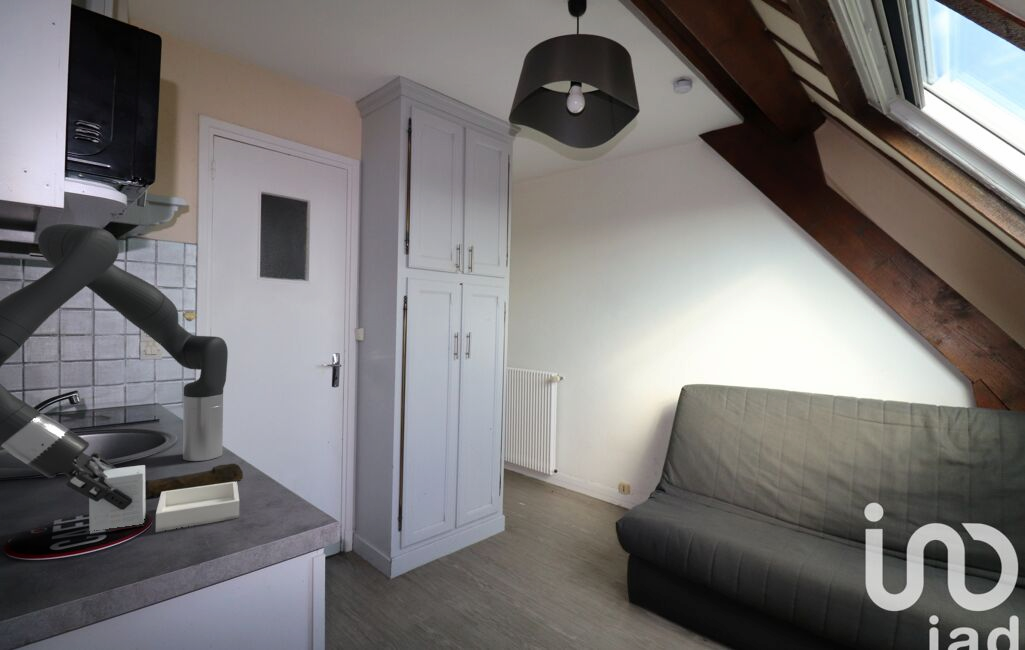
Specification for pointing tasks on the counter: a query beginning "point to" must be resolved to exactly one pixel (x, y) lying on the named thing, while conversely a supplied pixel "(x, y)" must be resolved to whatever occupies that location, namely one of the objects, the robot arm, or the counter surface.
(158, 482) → the hand tool
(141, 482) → the small box
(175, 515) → the tray
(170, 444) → the counter surface
